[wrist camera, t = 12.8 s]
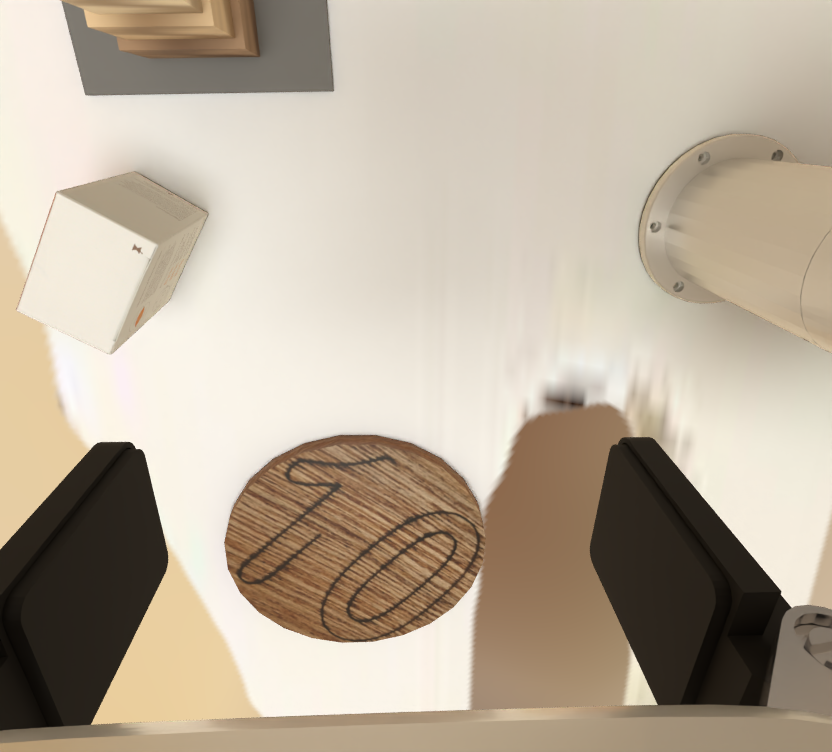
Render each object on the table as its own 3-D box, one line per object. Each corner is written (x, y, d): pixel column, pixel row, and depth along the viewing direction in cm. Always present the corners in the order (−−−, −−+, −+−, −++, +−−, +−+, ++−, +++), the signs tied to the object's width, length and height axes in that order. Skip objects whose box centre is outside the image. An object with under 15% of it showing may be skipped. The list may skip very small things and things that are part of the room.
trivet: (180, 560, 53) (173, 575, 51) (331, 381, 46) (329, 391, 44) (378, 657, 61) (378, 673, 60) (532, 519, 54) (538, 532, 52)
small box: (135, 169, 37) (54, 185, 28) (211, 213, 39) (160, 242, 29) (96, 266, 40) (10, 311, 31) (169, 303, 42) (109, 357, 32)
